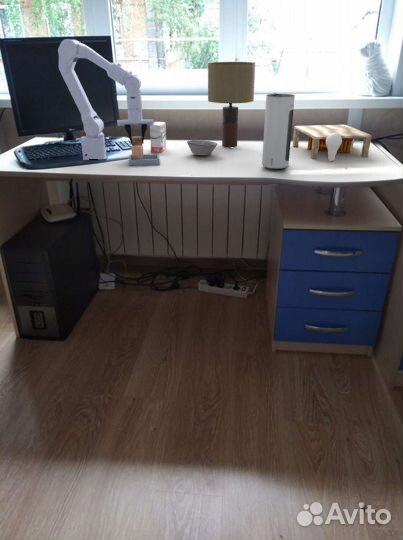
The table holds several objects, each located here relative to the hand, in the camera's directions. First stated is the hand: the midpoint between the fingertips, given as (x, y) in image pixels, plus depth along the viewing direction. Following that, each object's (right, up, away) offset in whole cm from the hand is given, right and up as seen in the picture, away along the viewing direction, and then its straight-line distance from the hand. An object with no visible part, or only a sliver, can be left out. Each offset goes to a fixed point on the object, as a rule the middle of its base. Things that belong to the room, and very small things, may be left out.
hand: (137, 143), depth 175 cm
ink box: (+8, +1, +14) cm, 16 cm away
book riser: (+83, 0, +11) cm, 83 cm away
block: (0, -1, +1) cm, 2 cm away
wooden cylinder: (+1, -9, -5) cm, 10 cm away
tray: (+4, -9, -4) cm, 11 cm away
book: (+85, +2, +17) cm, 87 cm away
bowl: (+24, -4, +4) cm, 25 cm away
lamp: (+40, +5, +22) cm, 46 cm away
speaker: (+55, -12, -10) cm, 57 cm away
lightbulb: (+79, -9, -5) cm, 79 cm away
